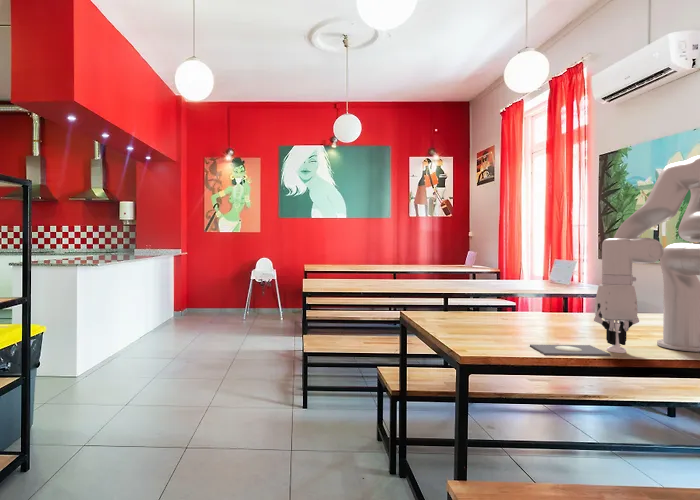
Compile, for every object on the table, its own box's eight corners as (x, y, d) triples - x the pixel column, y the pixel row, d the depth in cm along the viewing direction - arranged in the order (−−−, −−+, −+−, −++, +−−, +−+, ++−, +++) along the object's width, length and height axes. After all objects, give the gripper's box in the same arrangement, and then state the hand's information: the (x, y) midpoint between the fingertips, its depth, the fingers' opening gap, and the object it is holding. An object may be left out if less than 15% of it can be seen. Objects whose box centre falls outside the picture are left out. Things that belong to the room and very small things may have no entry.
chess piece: (629, 353, 124) (629, 318, 124) (610, 352, 125) (610, 317, 125) (622, 349, 129) (622, 315, 129) (603, 348, 130) (604, 315, 130)
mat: (589, 346, 132) (589, 344, 132) (610, 355, 121) (610, 353, 121) (529, 346, 133) (529, 344, 133) (544, 354, 122) (544, 352, 122)
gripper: (636, 280, 130) (636, 341, 130) (582, 279, 131) (581, 340, 131) (653, 282, 123) (652, 347, 123) (595, 281, 123) (595, 346, 123)
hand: (616, 343), depth 127 cm, fingers closed on chess piece
